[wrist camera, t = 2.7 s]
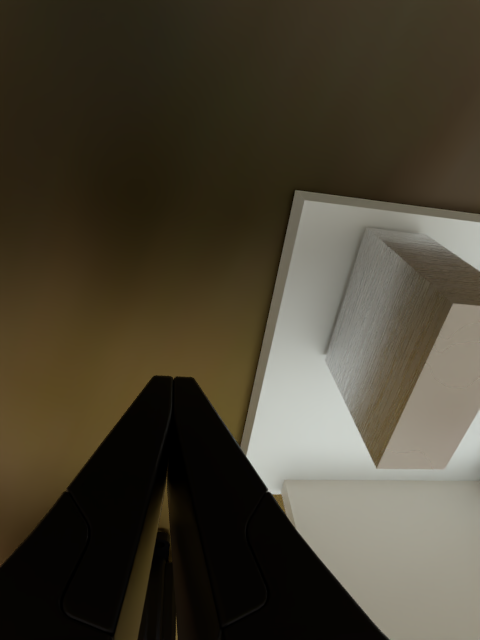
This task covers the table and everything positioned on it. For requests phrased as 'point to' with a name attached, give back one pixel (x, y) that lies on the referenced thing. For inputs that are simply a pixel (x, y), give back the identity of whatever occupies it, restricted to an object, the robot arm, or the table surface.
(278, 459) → the gauge base
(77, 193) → the table surface
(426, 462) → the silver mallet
